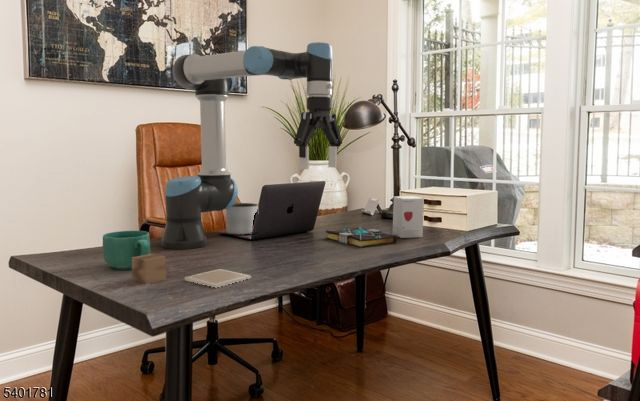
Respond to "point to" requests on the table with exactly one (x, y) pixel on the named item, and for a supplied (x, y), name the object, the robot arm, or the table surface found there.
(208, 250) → the table surface
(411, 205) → the supplement box
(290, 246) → the table surface
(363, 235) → the book
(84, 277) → the table surface
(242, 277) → the coaster
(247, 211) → the planter
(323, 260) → the table surface
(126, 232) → the mug
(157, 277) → the walnut cube
